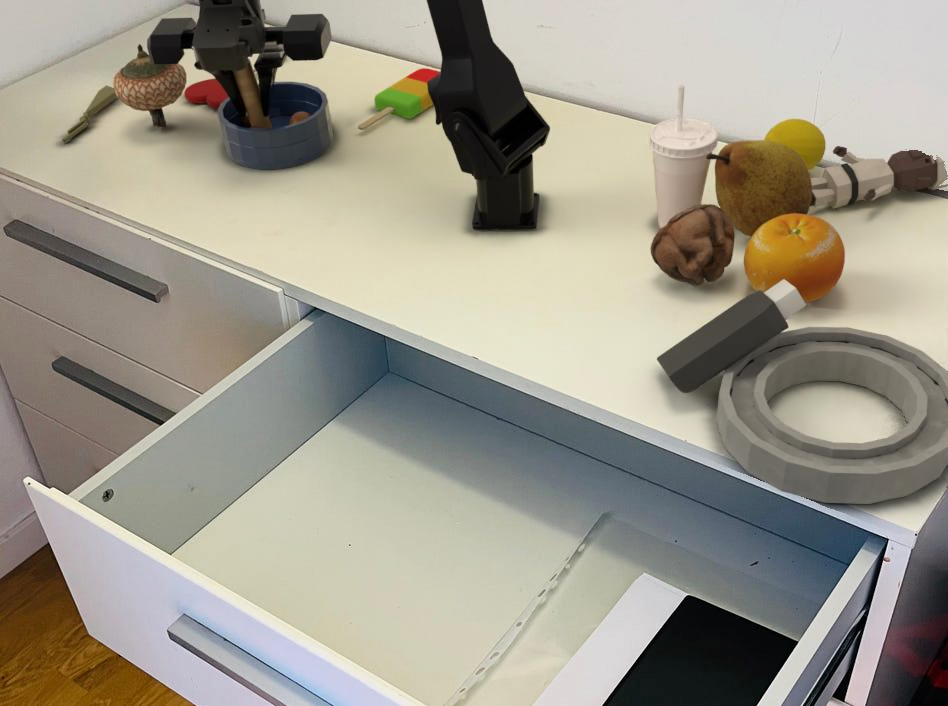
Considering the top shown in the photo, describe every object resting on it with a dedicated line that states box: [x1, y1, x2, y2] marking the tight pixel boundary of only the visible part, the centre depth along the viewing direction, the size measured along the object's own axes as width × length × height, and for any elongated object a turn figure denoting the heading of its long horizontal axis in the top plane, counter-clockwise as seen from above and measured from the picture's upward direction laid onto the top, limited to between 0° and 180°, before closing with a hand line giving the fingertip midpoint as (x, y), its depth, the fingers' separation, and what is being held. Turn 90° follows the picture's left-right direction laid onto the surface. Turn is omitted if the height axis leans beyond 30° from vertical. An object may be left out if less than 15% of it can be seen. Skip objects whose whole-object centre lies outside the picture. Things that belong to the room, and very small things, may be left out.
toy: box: [810, 145, 948, 210], centre depth 116 cm, size 8×5×15 cm
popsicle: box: [357, 67, 441, 131], centre depth 137 cm, size 6×15×2 cm, turn 144°
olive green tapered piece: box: [61, 85, 118, 144], centre depth 140 cm, size 12×3×1 cm, turn 156°
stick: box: [232, 58, 273, 129], centre depth 129 cm, size 2×2×9 cm
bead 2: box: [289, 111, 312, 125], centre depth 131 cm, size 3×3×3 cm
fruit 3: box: [743, 213, 846, 304], centre depth 104 cm, size 8×8×8 cm
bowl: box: [216, 81, 334, 170], centre depth 132 cm, size 12×12×4 cm
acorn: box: [112, 43, 187, 130], centre depth 134 cm, size 8×8×10 cm
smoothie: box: [648, 84, 719, 230], centre depth 111 cm, size 6×6×14 cm
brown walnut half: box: [650, 203, 736, 287], centre depth 106 cm, size 8×8×5 cm
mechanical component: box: [715, 326, 948, 505], centre depth 92 cm, size 18×18×3 cm
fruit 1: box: [763, 118, 826, 171], centre depth 120 cm, size 6×6×8 cm
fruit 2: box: [706, 139, 812, 238], centre depth 110 cm, size 9×9×12 cm
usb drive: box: [656, 279, 807, 394], centre depth 95 cm, size 5×12×3 cm
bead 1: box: [241, 114, 252, 128], centre depth 133 cm, size 3×3×3 cm
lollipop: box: [184, 68, 257, 110], centre depth 145 cm, size 8×1×15 cm
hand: (255, 115), depth 130 cm, fingers closed on stick, 2 cm apart
